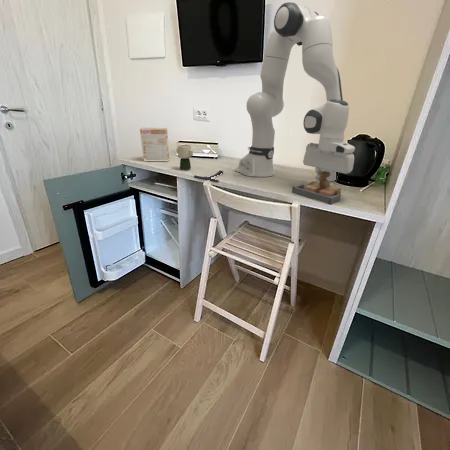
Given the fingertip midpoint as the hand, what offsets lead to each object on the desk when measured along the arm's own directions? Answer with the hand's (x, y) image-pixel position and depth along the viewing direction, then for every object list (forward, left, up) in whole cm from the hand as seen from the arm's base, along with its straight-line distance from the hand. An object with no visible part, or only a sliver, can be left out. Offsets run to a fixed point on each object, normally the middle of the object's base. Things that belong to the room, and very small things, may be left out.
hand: (323, 179), depth 108 cm
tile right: (+3, -2, -7) cm, 8 cm away
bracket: (-49, -19, -7) cm, 53 cm away
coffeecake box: (-101, -24, -6) cm, 104 cm away
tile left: (-3, -2, -6) cm, 8 cm away
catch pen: (0, -5, -6) cm, 8 cm away
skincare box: (-11, +24, -6) cm, 27 cm away
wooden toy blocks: (0, +3, -6) cm, 6 cm away
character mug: (-71, -22, -6) cm, 75 cm away
